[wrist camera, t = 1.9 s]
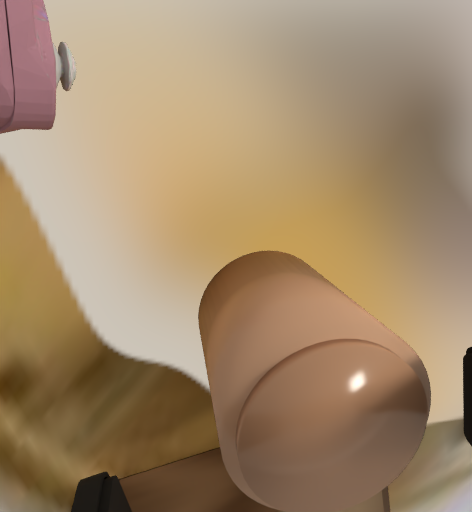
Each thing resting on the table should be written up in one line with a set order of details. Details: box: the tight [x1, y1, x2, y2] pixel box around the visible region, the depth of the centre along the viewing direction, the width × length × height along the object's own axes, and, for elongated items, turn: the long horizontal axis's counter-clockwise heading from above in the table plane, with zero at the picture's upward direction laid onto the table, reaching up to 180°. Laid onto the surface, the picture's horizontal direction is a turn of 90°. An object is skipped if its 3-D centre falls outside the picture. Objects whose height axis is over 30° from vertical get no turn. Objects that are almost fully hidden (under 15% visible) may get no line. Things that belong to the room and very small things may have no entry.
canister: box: [198, 251, 431, 512], centre depth 13 cm, size 6×6×7 cm
